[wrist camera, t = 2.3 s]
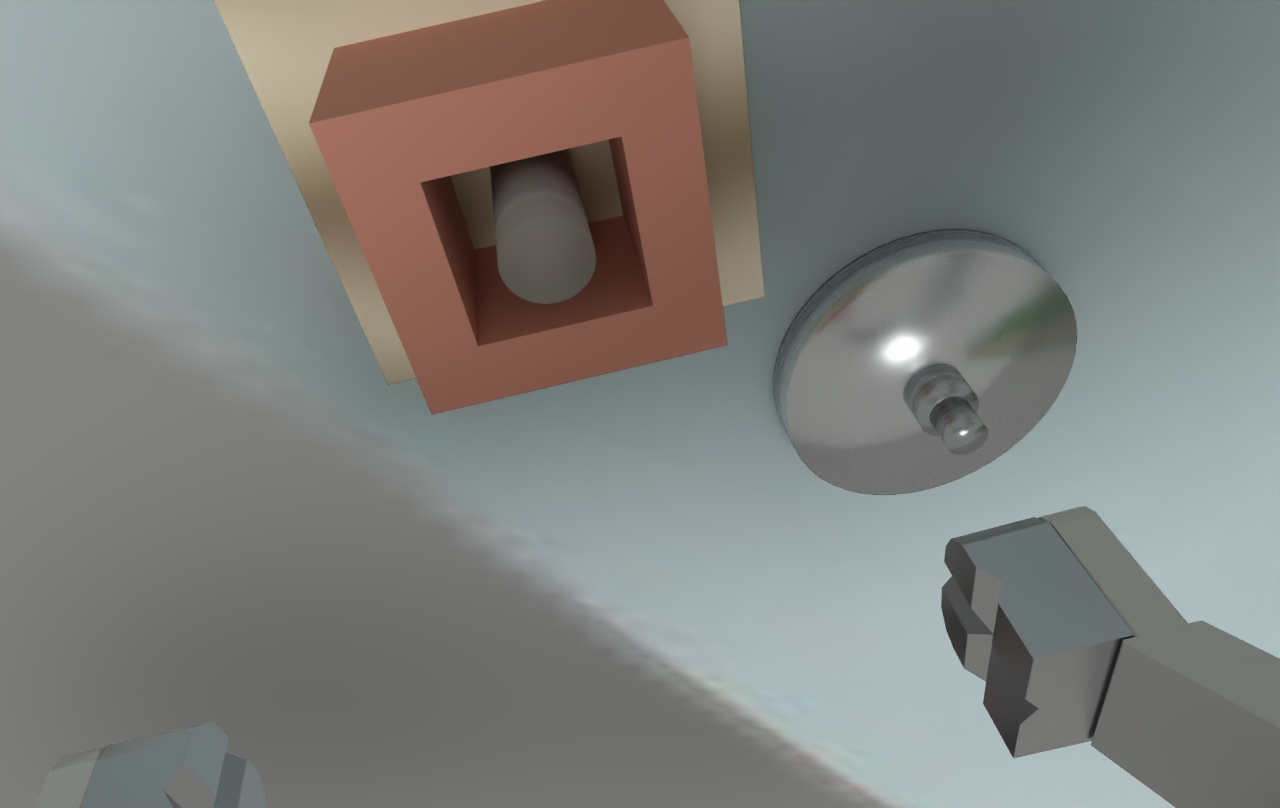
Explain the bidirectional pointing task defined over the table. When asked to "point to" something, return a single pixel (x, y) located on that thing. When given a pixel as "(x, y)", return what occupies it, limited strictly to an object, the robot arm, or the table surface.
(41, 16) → the table surface
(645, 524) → the table surface
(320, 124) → the brown square ring block
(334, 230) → the stand
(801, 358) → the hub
